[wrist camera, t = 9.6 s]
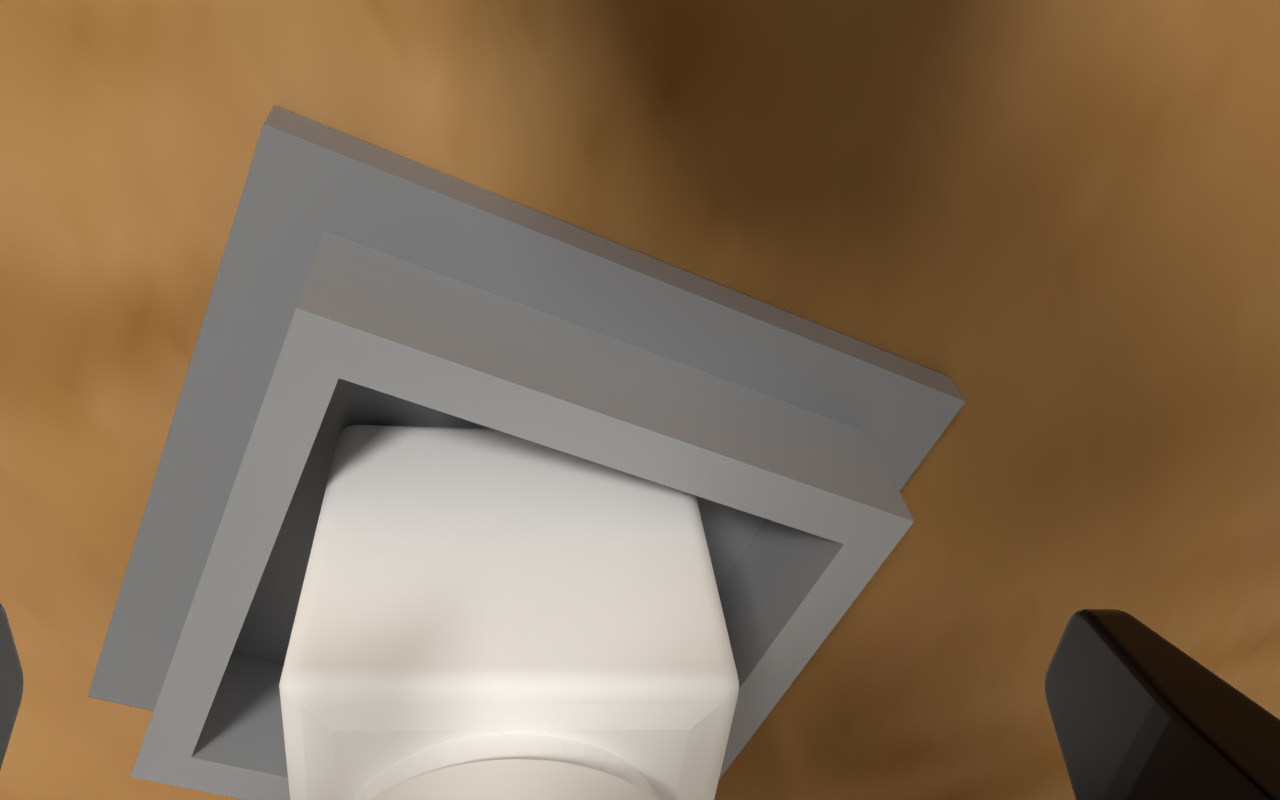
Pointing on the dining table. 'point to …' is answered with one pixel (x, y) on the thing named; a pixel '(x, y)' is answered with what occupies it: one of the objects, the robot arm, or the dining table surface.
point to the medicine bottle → (503, 629)
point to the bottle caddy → (484, 399)
